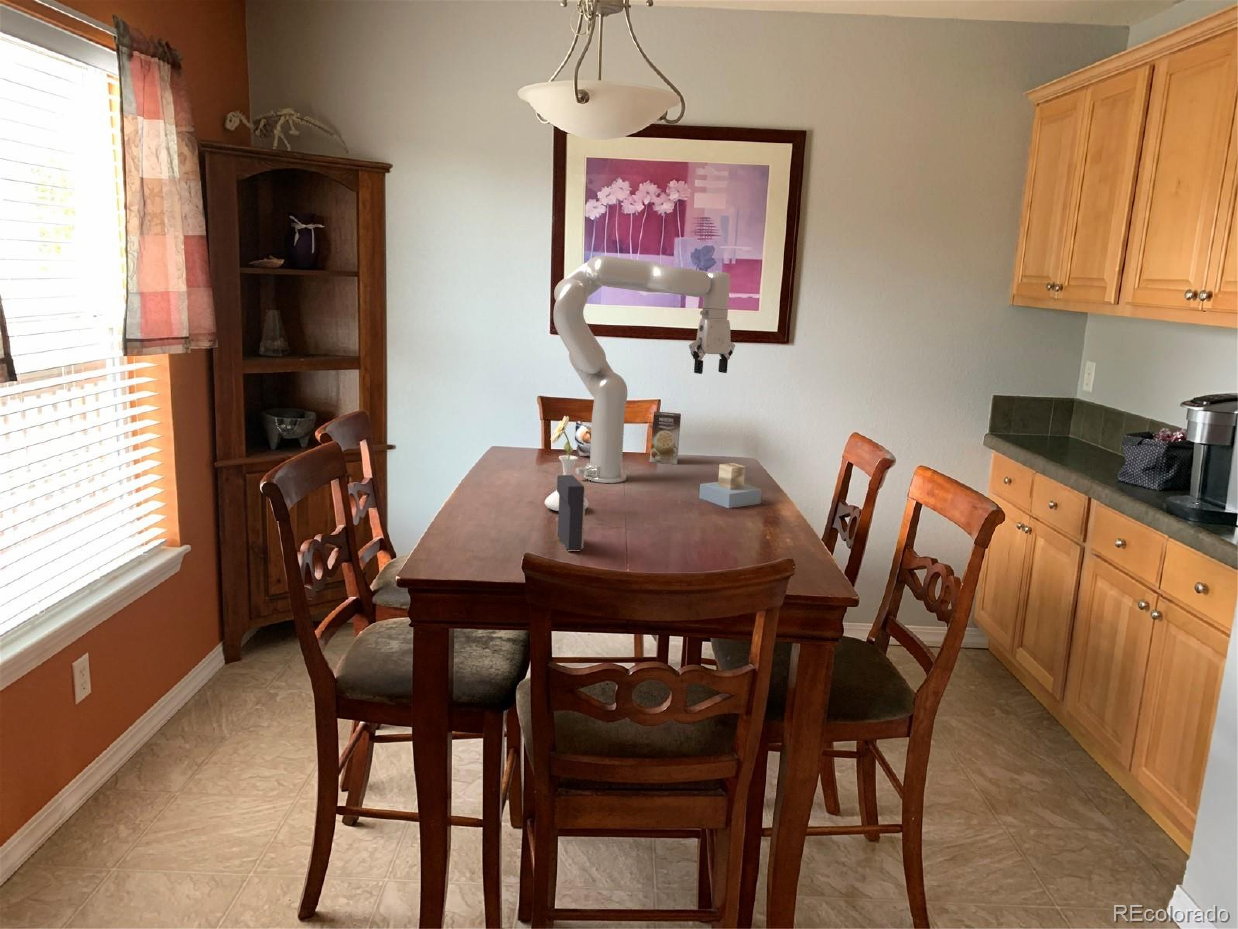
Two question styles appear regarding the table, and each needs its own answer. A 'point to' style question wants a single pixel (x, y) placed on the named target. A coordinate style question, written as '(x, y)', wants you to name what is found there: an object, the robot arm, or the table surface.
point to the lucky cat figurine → (583, 438)
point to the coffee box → (665, 437)
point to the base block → (730, 495)
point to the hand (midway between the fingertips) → (710, 372)
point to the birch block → (731, 476)
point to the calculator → (571, 512)
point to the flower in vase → (567, 463)
